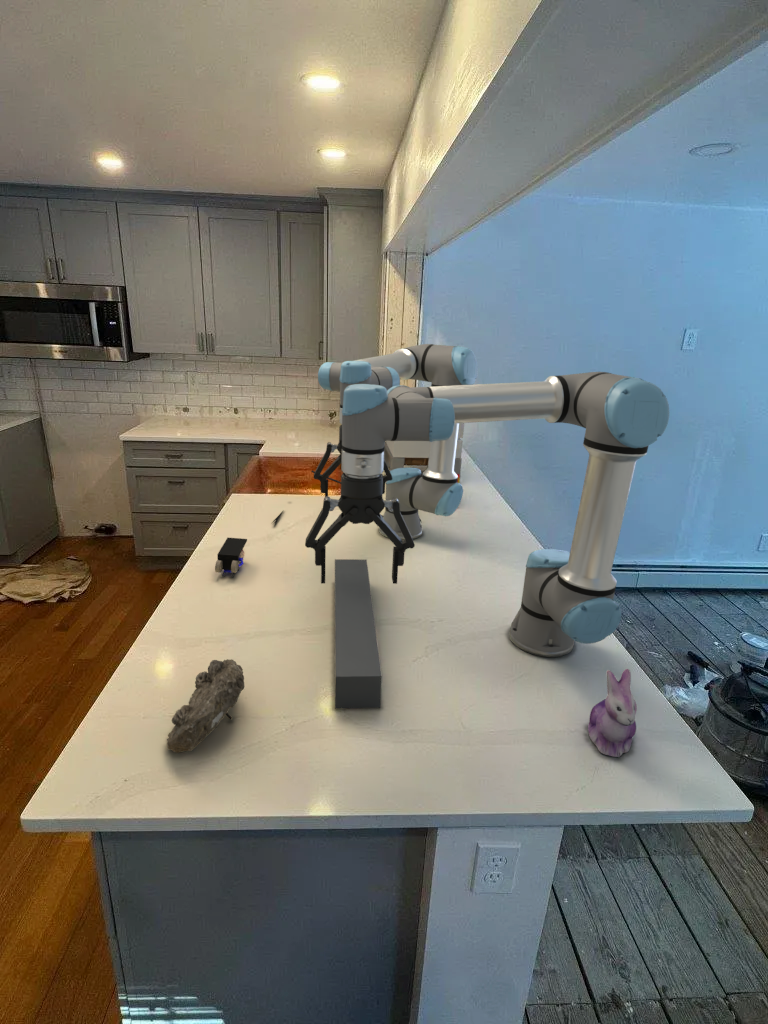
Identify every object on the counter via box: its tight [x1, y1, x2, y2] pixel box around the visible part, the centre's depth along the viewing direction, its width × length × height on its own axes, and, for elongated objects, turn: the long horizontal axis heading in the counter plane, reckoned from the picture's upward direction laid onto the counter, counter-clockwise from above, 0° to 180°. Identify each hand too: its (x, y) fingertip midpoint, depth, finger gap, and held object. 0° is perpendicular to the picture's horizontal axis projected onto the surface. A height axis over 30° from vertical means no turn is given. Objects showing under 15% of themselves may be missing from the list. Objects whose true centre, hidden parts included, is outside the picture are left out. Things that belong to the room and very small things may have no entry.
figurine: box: [587, 668, 638, 758], centre depth 104 cm, size 9×10×15 cm
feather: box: [271, 509, 284, 527], centre depth 213 cm, size 2×28×2 cm
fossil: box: [166, 658, 245, 754], centre depth 106 cm, size 22×10×15 cm
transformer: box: [384, 423, 465, 483], centre depth 268 cm, size 34×33×41 cm
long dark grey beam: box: [334, 558, 383, 710], centre depth 136 cm, size 54×9×8 cm, turn 5°
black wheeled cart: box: [214, 537, 248, 578], centre depth 166 cm, size 7×8×15 cm
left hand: (352, 505), depth 149 cm, fingers open, 13 cm apart
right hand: (359, 580), depth 108 cm, fingers open, 13 cm apart
